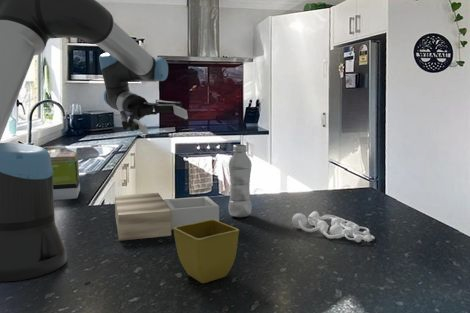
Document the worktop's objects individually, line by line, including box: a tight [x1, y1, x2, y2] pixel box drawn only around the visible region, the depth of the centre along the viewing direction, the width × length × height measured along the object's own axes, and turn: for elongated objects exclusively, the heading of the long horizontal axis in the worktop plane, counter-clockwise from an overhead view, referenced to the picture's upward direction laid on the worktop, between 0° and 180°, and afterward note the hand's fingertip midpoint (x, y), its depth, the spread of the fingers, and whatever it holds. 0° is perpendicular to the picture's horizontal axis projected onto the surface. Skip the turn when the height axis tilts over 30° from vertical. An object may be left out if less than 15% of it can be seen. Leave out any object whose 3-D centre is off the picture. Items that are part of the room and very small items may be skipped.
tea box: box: [49, 151, 81, 201], centre depth 143 cm, size 15×10×15 cm, turn 17°
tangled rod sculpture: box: [291, 210, 375, 243], centre depth 99 cm, size 19×14×4 cm
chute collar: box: [163, 195, 220, 231], centre depth 110 cm, size 12×12×5 cm
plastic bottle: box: [228, 144, 252, 218], centre depth 114 cm, size 6×7×20 cm
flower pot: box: [172, 219, 240, 284], centre depth 73 cm, size 9×9×9 cm
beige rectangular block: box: [114, 192, 172, 242], centre depth 106 cm, size 22×12×6 cm, turn 18°
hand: (166, 122), depth 118 cm, fingers open, 13 cm apart
